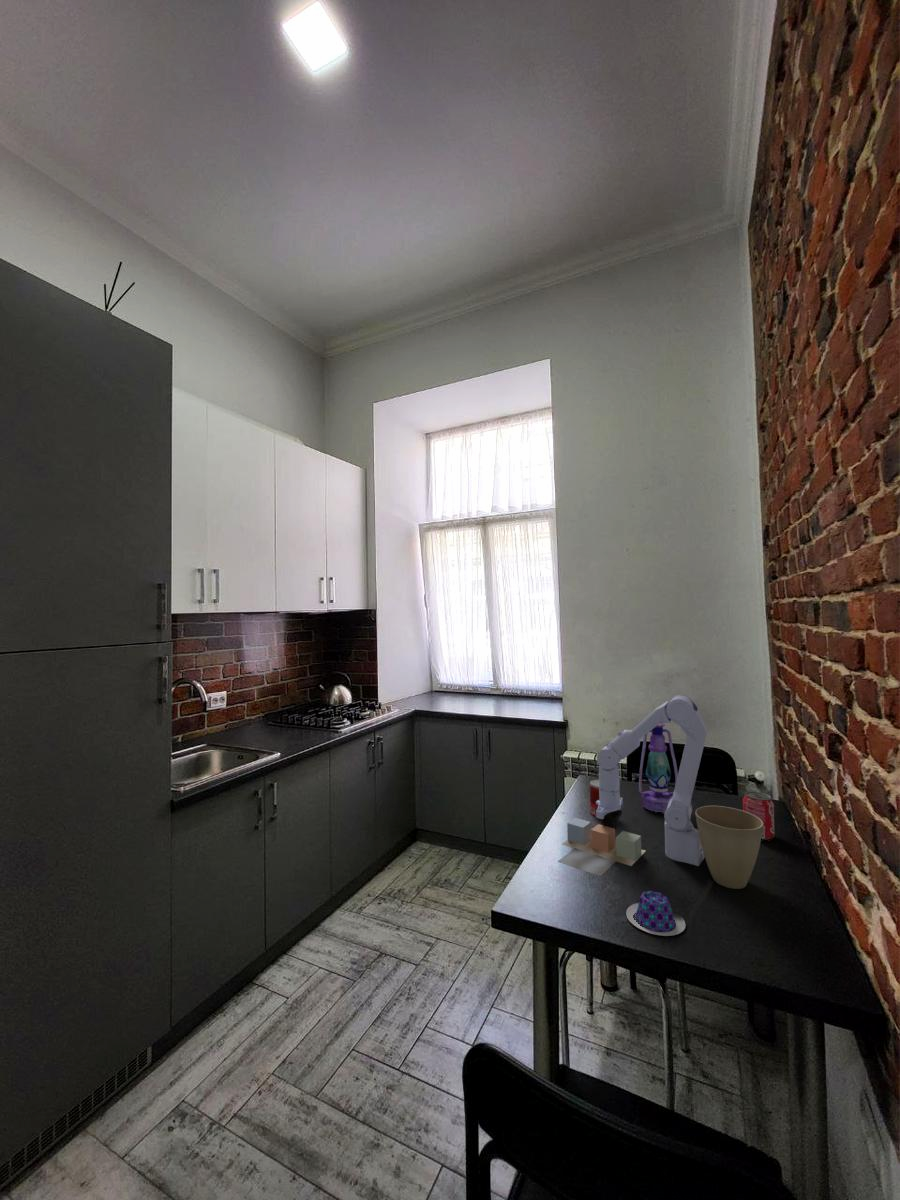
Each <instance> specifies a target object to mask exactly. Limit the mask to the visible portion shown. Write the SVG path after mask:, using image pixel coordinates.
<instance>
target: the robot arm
mask: <svg viewBox="0 0 900 1200" xmlns="http://www.w3.org/2000/svg"><path fill="white" fill-rule="evenodd" d="M702 717H703V716H702V715H701V712H700V709H699V705H697V704H696V703H695V702H694V701H693V699H692V698H691V697H689V696H688V695H686V694H685V695H684V694H677V695H674V696H673V697H672V698H671V699H670V701H669V700H666V702H664V703H662V704H660V705H659V706H658V707H656V708H655V709H654V710H653V711H652V712H651V713H649V714H648V715H647V716H646V717H645V718H644V719H643V720H642V721H640V723H638V724H637V725H636V726H635V727H634V728H633V729H624V730H620V731H618V732H617V733H616V735H617V736H615V738H613V739H612V740H611V741H608V742H606V743H605V746H604V747H602V749H600V750H599V752H598V753H597V755H596V763H597V764H598V766H599V767H598V780H599V800H597V801H596V804H597V805H598V809H597V810H596V817H595V818H597V819H600V821H601V822H602V825H603V826H607V827H611V828H614V829H615V834H616V833H617V827H618V823H619V820H620V818H621V816H622V814H623V813H622V810H621V808H622V805H624V804H623V803H624V800H623V797H621V795H620V794H621V793H620V792H621V789H620V772H619V771H620V768H619V763H620V762H621V761H622V760H624V759H626V758H627V757H628V756H629V755H630V754H632V753H633V752H634V751H635V750H636V749H638V748H639V747H640V745H641V739H642V738H644V735H646V734H647V733H650V732H649V731H651V730H652V729H653V728H655V727H656V726H657V725H658V724H660V723H665V724H670V723H671V722H674V723H676V725H677V726H679V727H680V728H681V729H682V731H683V732H684V733H685V734H686V739H685V744H684V748H683V752H682V756H681V757H682V758H681V760H680V765H679V769H678V777H677V781H676V783H675V787H674V790H673V792H674V794H673V797H672V798H671V799H670V800H669V801H668V806H667V809H666V811H665V813H663V814H664V815H663V816H664V850H665V851H664V853H665V856H666V857H667V858H669V859H670V860H672V861H675V862H681V863H686V864H689V865H694V866H696V867H699V866H700V865H701V864H702V862H703V861H704V859H705V856H704V852H703V849H702V845H701V841H700V837H699V832H698V828H695V827H694V824H693V822H692V820H691V816H692V814H693V805H692V798H693V797H692V796H693V793H694V789H695V786H696V785H695V784H696V781H697V776H698V771H699V768H700V764H701V759H702V755H703V751H704V748H705V743H706V739H707V734H708V729H707V727H706V725H705V722H704V719H703V718H702ZM647 735H648V734H647Z"/></svg>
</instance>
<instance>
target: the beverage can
mask: <svg viewBox="0 0 900 1200" xmlns="http://www.w3.org/2000/svg"><path fill="white" fill-rule="evenodd" d="M774 808H775V805H774V802H773V801H772V798H771V796H770V795H769V794H767V793H763V792H758V791H746V792H745V793H744V797H743V798H742V811H746V812H748V813H751V814H753V815H755V816H757V817H758V818H760V819H761V820H762V822H763V830H762V836H761V839H771V838H772V839H774V838H775V836H776V835H775V809H774ZM772 839H771V840H772Z"/></svg>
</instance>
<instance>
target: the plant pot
mask: <svg viewBox="0 0 900 1200" xmlns="http://www.w3.org/2000/svg"><path fill="white" fill-rule="evenodd" d="M694 813H695V819H696V825H697V827H696V828H697V830H698V832H699V837H700V841H701V845H702V849H703V852H704V859H705V861H706V864H707V867H708V870H709V872H710V875H711V877H712V880H713V881H714V882H716V884H718V885H721V886H723V887H725V888H727V889H735V890H740V889H744V888H746V886H748V885H747V884H748V882H749V880H750V877H752V873H753V870H754V867H755V865H756V862H757V858H758V855H759V850H760V847H761V841H762V840H761V836H762V830H763V822H762V820H761V819H760V818H758V817H757V816H755V815H753V814H751V813H748V812H746V811H743V809H738V808H734V807H730V806H729V807H728V806H723V805H703V806H700V807H698V808H696V809H695V811H694Z"/></svg>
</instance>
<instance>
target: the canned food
mask: <svg viewBox="0 0 900 1200" xmlns="http://www.w3.org/2000/svg"><path fill="white" fill-rule="evenodd" d="M597 800H599V779H594V780H590V782H589V807H590V808H589V809H590V812H589V813H590V815H591V816H593V817H594V818H596V810H597V809H598V805H597V804H596V801H597Z"/></svg>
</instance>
